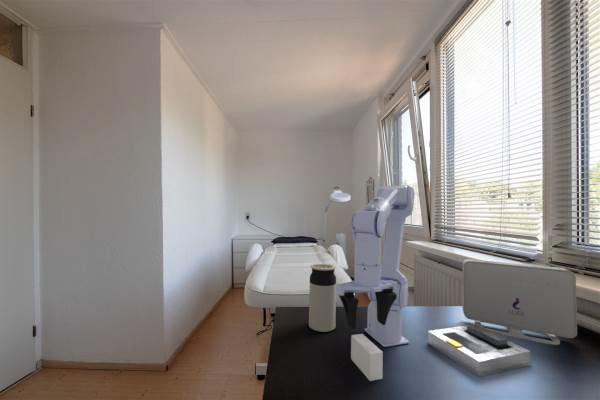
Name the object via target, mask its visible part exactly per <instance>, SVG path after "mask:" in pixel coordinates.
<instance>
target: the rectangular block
mask: <svg viewBox="0 0 600 400" xmlns="http://www.w3.org/2000/svg"><path fill="white" fill-rule="evenodd" d="M350 337H351V338H350V360H351V361H352V362H353V363H354V365H356V367H357V368H358V369H359V370H360V371H361V372H362V373H363V375H364V376H365V377H366V379H367V380H368V381H369V382H373V381H378V380H382V379H383V368H384V367H383V366H384V364H383V363H384V361H383V359H384V358H383V357H384V353H383V350H381V349H380V348H379V347H378V345H376V344H375V343H374V342H372V341H371V340H370V339H369V338H368V337H367V336H365V334H364V333H359V334H357V333H356V334H351V336H350Z"/></svg>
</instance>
